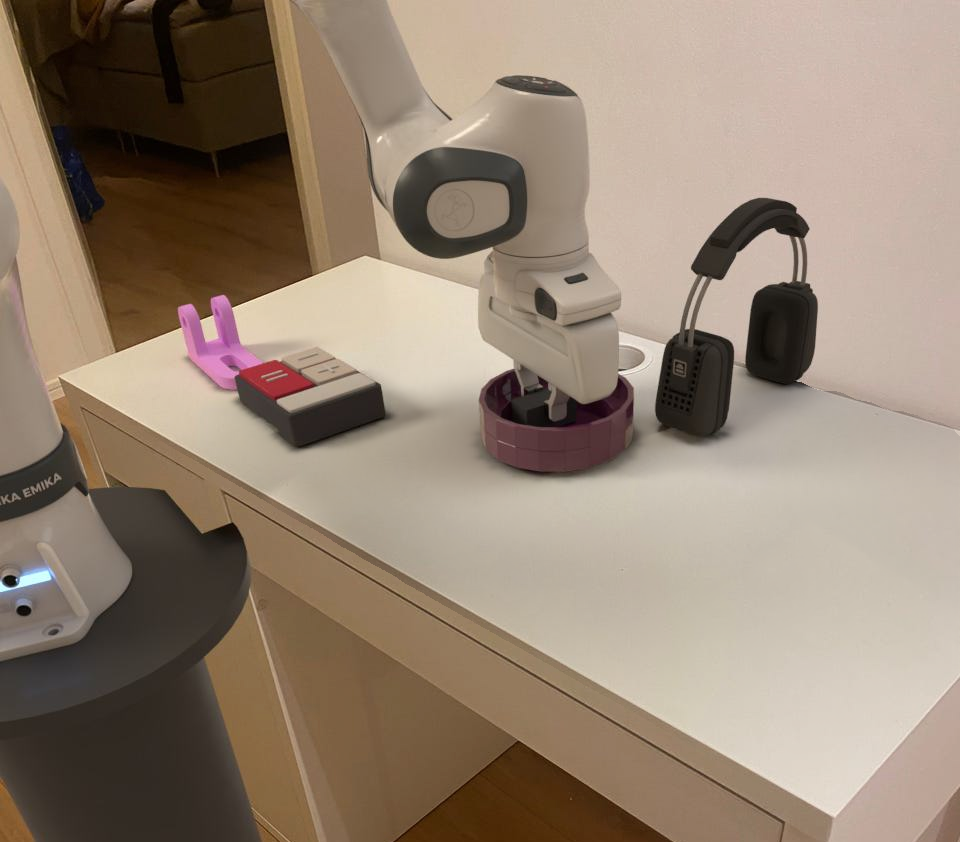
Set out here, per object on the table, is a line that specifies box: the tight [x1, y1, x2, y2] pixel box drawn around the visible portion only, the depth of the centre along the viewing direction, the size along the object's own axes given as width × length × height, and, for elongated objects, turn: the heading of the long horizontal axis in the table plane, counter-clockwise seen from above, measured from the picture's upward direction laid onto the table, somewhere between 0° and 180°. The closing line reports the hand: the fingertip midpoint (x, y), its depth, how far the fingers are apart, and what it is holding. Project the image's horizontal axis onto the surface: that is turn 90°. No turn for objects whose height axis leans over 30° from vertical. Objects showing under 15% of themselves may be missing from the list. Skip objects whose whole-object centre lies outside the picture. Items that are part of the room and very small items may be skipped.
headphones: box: [654, 197, 819, 438], centre depth 99 cm, size 22×6×20 cm, turn 135°
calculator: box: [235, 346, 387, 448], centre depth 109 cm, size 11×4×15 cm
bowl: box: [478, 368, 635, 472], centre depth 99 cm, size 15×15×5 cm
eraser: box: [512, 388, 577, 427], centre depth 101 cm, size 6×3×3 cm, turn 120°
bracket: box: [177, 294, 263, 391], centre depth 117 cm, size 13×6×7 cm, turn 33°
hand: (543, 409), depth 101 cm, fingers closed on eraser, 3 cm apart
